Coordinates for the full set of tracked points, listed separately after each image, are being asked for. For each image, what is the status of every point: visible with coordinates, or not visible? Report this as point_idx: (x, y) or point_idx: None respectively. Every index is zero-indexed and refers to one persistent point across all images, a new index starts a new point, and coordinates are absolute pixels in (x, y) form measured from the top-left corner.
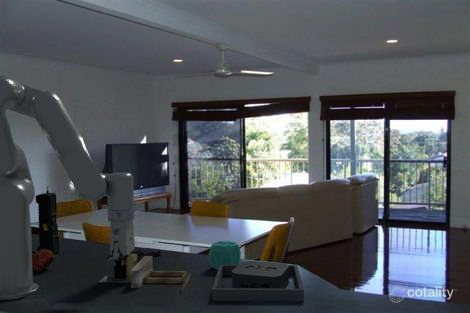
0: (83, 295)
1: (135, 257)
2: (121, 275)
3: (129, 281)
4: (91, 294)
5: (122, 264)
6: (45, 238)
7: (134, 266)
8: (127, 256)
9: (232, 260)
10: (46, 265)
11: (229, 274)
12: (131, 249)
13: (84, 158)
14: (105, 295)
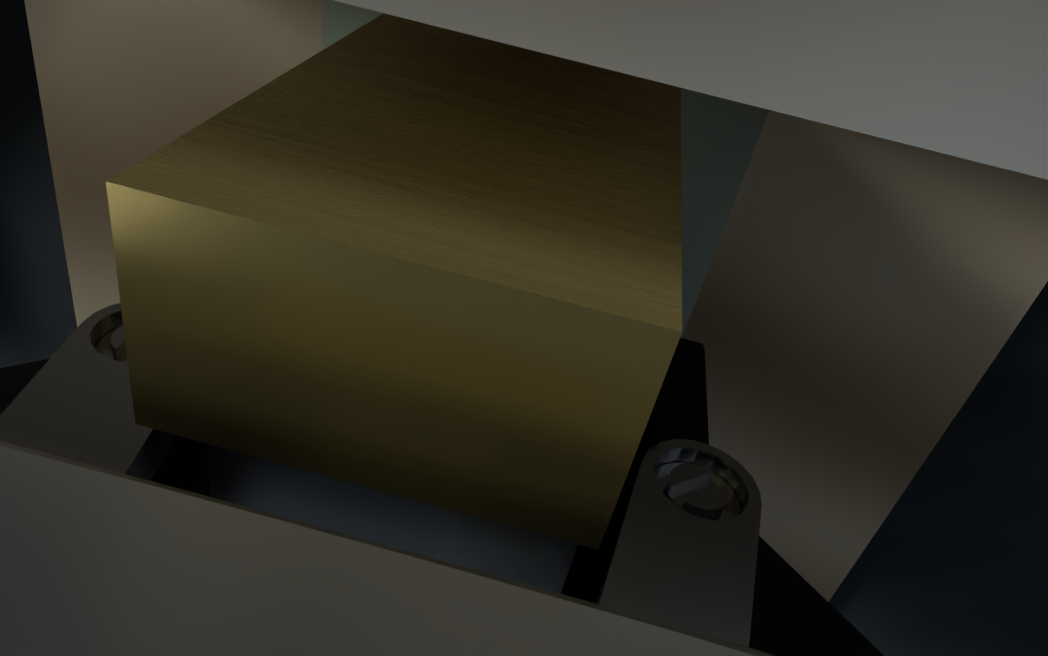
0: (891, 638)
1: (402, 206)
2: (702, 352)
3: (703, 147)
4: (893, 576)
5: (748, 509)
6: None
7: (614, 139)
8: (528, 528)
9: None
10: None
11: None
12: (212, 597)
13: None
14: (1034, 448)
